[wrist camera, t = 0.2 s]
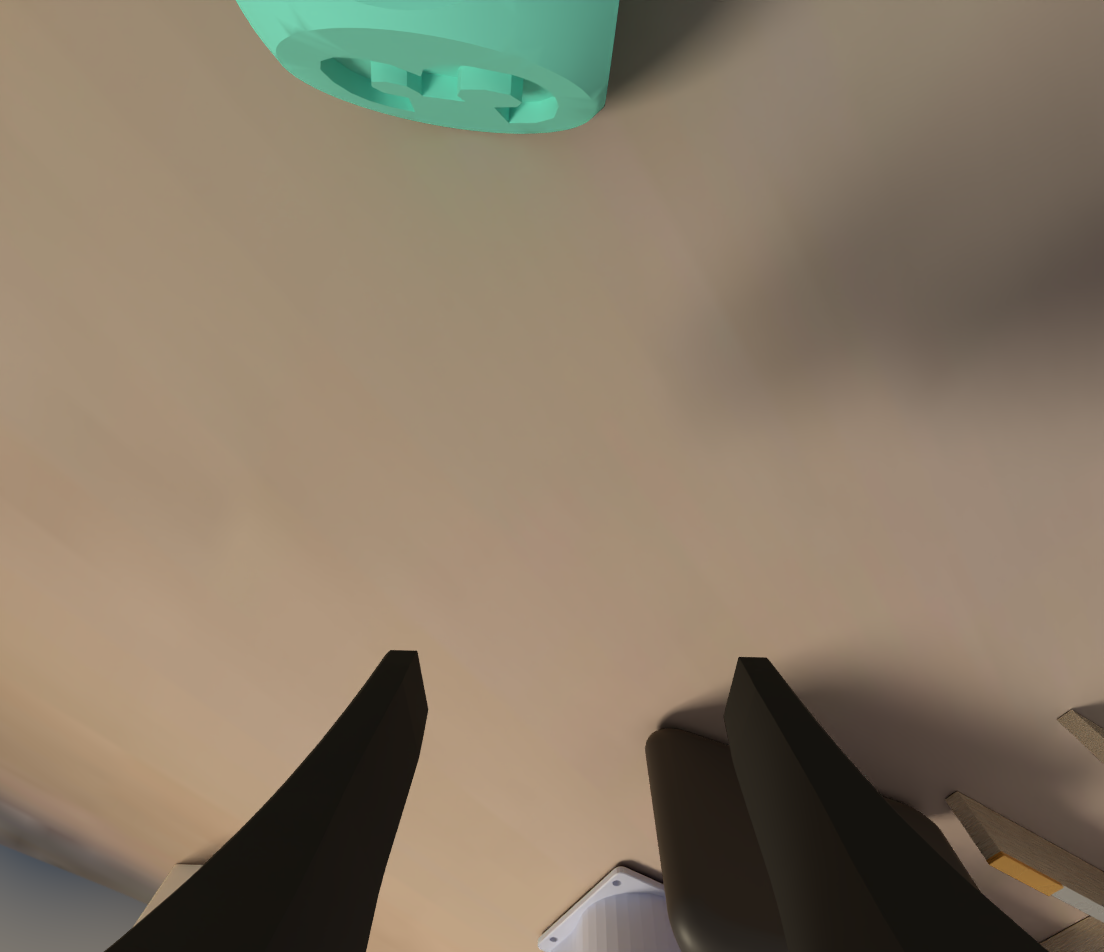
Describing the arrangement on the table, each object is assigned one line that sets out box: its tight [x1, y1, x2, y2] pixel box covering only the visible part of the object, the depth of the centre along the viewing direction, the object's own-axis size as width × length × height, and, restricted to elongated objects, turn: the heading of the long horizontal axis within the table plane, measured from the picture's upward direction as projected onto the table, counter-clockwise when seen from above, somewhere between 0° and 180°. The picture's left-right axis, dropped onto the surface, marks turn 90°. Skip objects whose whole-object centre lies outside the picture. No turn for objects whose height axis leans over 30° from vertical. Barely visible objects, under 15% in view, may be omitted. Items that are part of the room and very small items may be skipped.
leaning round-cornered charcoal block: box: [645, 728, 979, 952], centre depth 23 cm, size 16×5×9 cm, turn 69°
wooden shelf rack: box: [945, 710, 1104, 952], centre depth 27 cm, size 21×15×4 cm
